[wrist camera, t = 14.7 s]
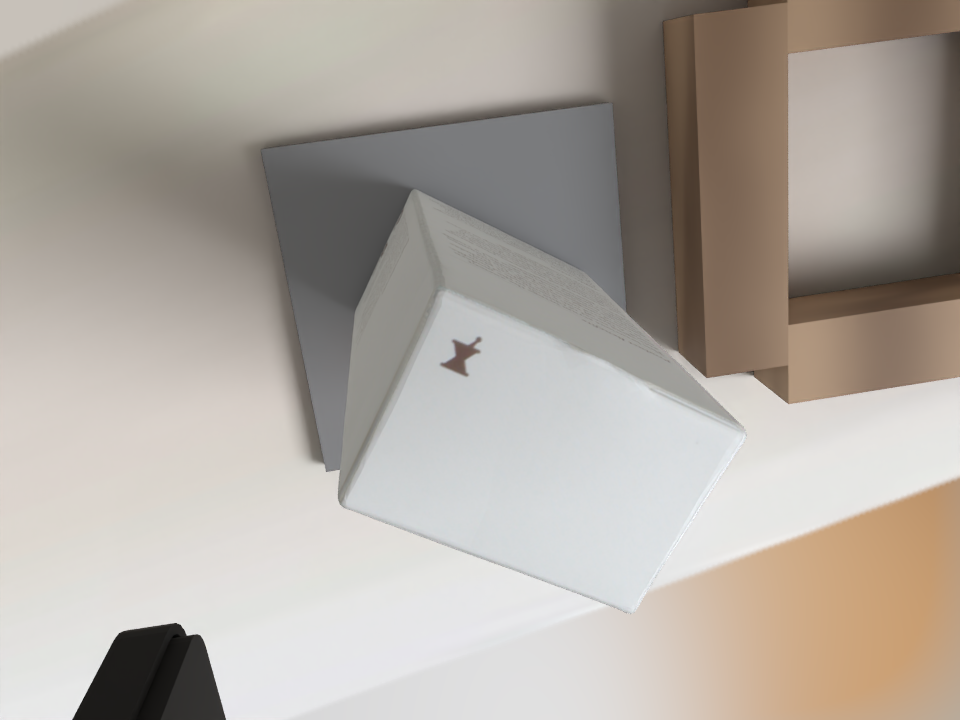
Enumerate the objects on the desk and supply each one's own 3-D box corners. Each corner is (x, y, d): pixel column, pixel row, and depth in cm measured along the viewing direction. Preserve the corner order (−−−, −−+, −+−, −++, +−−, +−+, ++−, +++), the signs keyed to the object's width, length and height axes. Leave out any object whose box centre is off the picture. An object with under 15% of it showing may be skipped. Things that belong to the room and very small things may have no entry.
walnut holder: (1081, -79, 24) (1157, -97, 22) (1040, 332, 28) (1100, 354, 26) (660, -27, 23) (691, -39, 21) (680, 388, 27) (708, 417, 25)
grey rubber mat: (607, 102, 24) (612, 102, 24) (629, 417, 28) (633, 422, 27) (263, 148, 24) (260, 149, 23) (327, 465, 27) (326, 471, 26)
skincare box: (351, 314, 25) (321, 506, 14) (411, 184, 24) (435, 273, 13) (528, 393, 26) (636, 626, 15) (593, 274, 25) (761, 426, 14)
